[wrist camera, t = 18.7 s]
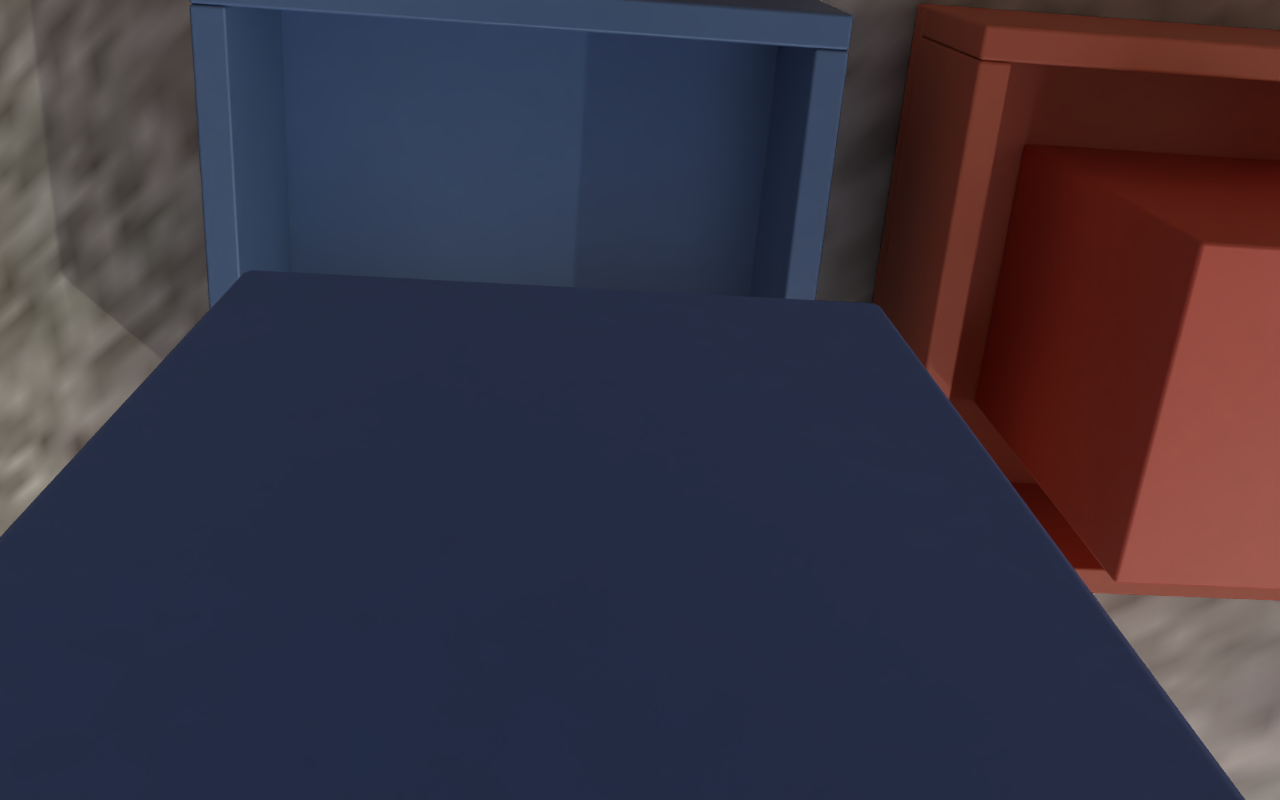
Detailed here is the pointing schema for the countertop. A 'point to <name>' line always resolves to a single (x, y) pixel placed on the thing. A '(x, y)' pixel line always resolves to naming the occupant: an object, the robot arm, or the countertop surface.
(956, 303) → the red bin
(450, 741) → the blue block
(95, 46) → the countertop surface
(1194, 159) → the red block
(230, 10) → the blue bin
